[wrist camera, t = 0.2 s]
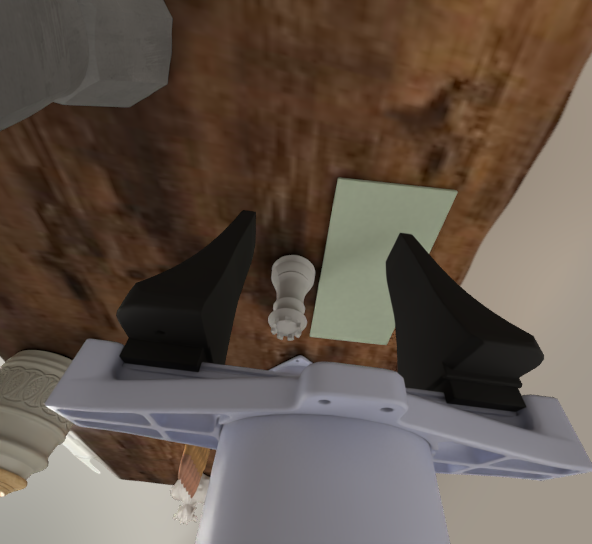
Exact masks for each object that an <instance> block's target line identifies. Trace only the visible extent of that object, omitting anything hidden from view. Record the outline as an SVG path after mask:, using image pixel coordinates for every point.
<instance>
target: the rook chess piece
mask: <svg viewBox="0 0 592 544" xmlns="http://www.w3.org/2000/svg"><path fill="white" fill-rule="evenodd" d="M314 277H315V269H314V266H313V265H312V264H311V262H310V261H309V260H307V259H305V258H303V257H301V256H298V255H288V256H283V257H281V258H280V259H278V260H276V262H275V263H274V265H273V266H272V277H271V280H272V283H273V285H274V287H275V289H276V291H277V301H276V302H275V303H274V305H273V310H274V311H273V312H272V313H271V314H270V315H269V317H268V322H269V324H270V326H271V332H272V334H273V335H274V334H276V333H278V334H277V338H279V339H281V340H282V339H283V336H288V341H289V340H294V335H296V337H297V338H299V336H300V335H301V331H303V329H304V328H305V327H306V324H307V320H306V318H305V316H304V315H303V314H304V312H305V307H304V304H303V301H304V297H305V295H306V293H307V292H308V291H309V290H310V289H311V287H312V286H313V283H314Z"/></svg>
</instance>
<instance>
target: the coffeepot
mask: <svg viewBox="0 0 592 544" xmlns="http://www.w3.org/2000/svg"><path fill="white" fill-rule="evenodd" d="M172 20H173V18H172V16H171V14H170V12H169V11H168V9H167V7H166V5H165V3H164V1H163V0H0V131H1V130H3V129H5V128H7V127H9V126H11V125H13V124H15V123H17V122H19V121H21V120H23V119H25V118H27V117H29V116H31V115H33V114H34V113H36V112H38V111H39V110H41V109H42V108H44V107H45V106H47V105H48V104H50V103H51V102H56V103H59V104H63V105H82V106H108V107H131V106H132V105H134V104H136V103H137V102H139V101H141V100H142V99H144V98H146V97H148V96H149V95H151V94H152V93H153V92H155V91H157V90H158V89H160V88H162V87H163V86H165V85H167V84H168V75H169V67H170V61H171V55H172V35H171V33H172Z"/></svg>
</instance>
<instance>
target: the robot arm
mask: <svg viewBox="0 0 592 544" xmlns="http://www.w3.org/2000/svg"><path fill="white" fill-rule="evenodd" d="M255 237H256V212H252V211H245V210H243V211H242V212H241V213H240V214H239V215H238V216H237V217H236V219H235V220H234V221H233V222H232V223H231V224H230V225H229V226H228V227H227V228H226V229H225V230H224V231H223V232H222V233H221V234H220V235H219V236H218V237H217V238H216V239H214V240H213V241H212V242H211V243H210V244H209V245H207V246H206V247H205V248H204V249H202V250H201V251H199V252H198V253H197V254H195V255H194V256H192V257H191V258H189V259H187V260H186V261H184V262H182V263H181V264H179V265H177V266H175V267H173V268H171V269H169V270H167V271H165V272H163V273H161V274H158V275H156V276H153V277H151V278H148V279H146V280H143V281H140V282H138V283H136V284H135V285H134V286H133V288H132V289H131V290H130V291H129V293H128V294H127V296H126V297H125V299H124V301H123V302H122V304H121V306H120V307H119V309H118V310H117V315H116V316H117V319H118V321H119V323H120V324H121V326H122V328H123V329H124V331H125V332H126V334H127V336H128V337H129V339H128V341H127V343H126V344H125V346H124V345H123V344H121V343H118V342H113V341H105V340H98V339H87V340H86V341H85V343H84V344H83V346H82V347H81V349H80V350H79V352H78V353H77V355H76V356H75V358H74V359H73V361H72V362H71V364H70V365H69V367H68V368H67V370H66V371H65V373H64V375H63V376H62V378H61V379H60V381H59V382H58V384H57V385H56V387H55V388H54V390H53V391H52V393H51V394H50V396H49V397H48V399H47V400H46V402H45V406H46V407H48V408H49V409H51V410H53V411H54V412H56V413H58V414H59V415H61V416H62V417H64V418H66V419H67V420H69V421H71V422H72V423H74V424H76V425H77V426H80V427H88V428H96V429H104V430H110V431H117V432H123V433H129V434H135V435H140V436H146V437H151V438H157V439H162V440H167V441H173V442H178V443H183V444H189V445H194V446H199V447H205V448H210V449H215V450H217V451H216V455H215V459H214V464H213V468H212V472H211V476H210V481H209V485H208V489H207V494H206V498H205V502H204V507H203V511H202V515H201V519H200V523H199V528H198V532H197V537H196V541H195V544H450V540H449V535H448V530H447V525H446V521H445V516H444V511H443V506H442V502H441V497H440V492H439V488H438V484H437V479H436V474H435V473H443V474H464V475H481V476H499V477H510V478H522V479H531V480H540V481H542V480H548V479H554V478H559V477H565V476H570V475H576V474H582V473H587V472H592V462H591V461H590V459H589V457H588V455H587V453H586V451H585V449H584V448H583V446H582V444H581V442H580V440H579V438H578V436H577V435H576V433H575V431H574V429H573V427H572V425H571V423H570V421H569V420H568V418H567V416H566V414H565V412H564V410H563V408H562V407H561V405H560V403H559V401H558V399H556V398H554V397H546V396H539V395H522V396H521V394H520V392H519V390H518V388H521V387H522V383H521V381H520V379H519V377H521V376H522V375H524V374H526V373H528V372H530V371H531V370H533V369H535V368H536V367H537V366H539V365H540V364H541V362H542V361H543V360H544V354H543V353H542V351H541V349H540V347H539V345H538V344H537V342H536V340H535V338H534V336H532V335H531V334H529V333H527V332H525V331H524V330H522V329H520V328H518V327H516V326H515V325H513V324H511V323H509V322H508V321H506V320H505V319H503V318H501V317H500V316H498V315H497V314H495V313H494V312H492V311H491V310H489V309H488V308H486V307H485V306H484V305H482V304H481V303H480V302H478V301H477V300H476V299H474V298H473V297H472V296H471V295H469V294H468V293H467V292H466V291H465V290H463V289H462V288H461V287H460V286H459V285H458V284H457V283H456V282H455V281H454V280H452V279H451V278H450V277H449V275H448V274H447V273H446V272H445V271H444V270H443V269H442V268H441V267H440V266H439V265H438V264H437V263H436V262H435V260H434V259H433V258H432V257H431V256H430V255H429V254H428V252H427V251H426V250H425V249H424V248H423V246H422V245H421V244H420V243H419V242H418V240H417V239H416V238H415V237H414V236H413V235H412V234H406V233H399V235H398V237H397V239H396V242H395V244H394V246H393V248H392V250H391V252H390V254H389V256H388V258H387V260H386V279H387V285H388V290H389V295H390V299H391V304H392V309H393V314H394V320H395V328H396V341H397V360H398V373H397V372H395V371H392V370H388V369H382V368H375V367H367V366H359V365H351V364H343V363H335V362H316V363H312V362H310V361H309V360H308V359H306V358H305V357H303V356H301V355H299V356H296V357H294V358H292V359H290V360H288V361H286V362H284V363H282V364H280V365H278V366H276V367H274V368H272V369H270V370H260V369H252V368H244V367H237V366H229V365H225V360H226V355H227V350H228V345H229V340H230V335H231V330H232V326H233V321H234V317H235V312H236V308H237V304H238V300H239V296H240V293H241V290H242V288H243V285H244V282H245V279H246V276H247V273H248V270H249V267H250V264H251V261H252V257H253V253H254V248H255Z"/></svg>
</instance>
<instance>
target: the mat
mask: <svg viewBox="0 0 592 544" xmlns="http://www.w3.org/2000/svg"><path fill="white" fill-rule="evenodd" d="M457 193H458V192H457V191H456V190H451V189H442V188H432V187H423V186H414V185H405V184H395V183H386V182H377V181H367V180H358V179H349V178H340V177H338V180H337V185H336V191H335V196H334V202H333V208H332V213H331V219H330V225H329V230H328V236H327V241H326V247H325V253H324V258H323V264H322V269H321V275H320V281H319V286H318V292H317V297H316V303H315V309H314V314H313V320H312V325H311V331H310V337H317V338H326V339H335V340H344V341H353V342H363V343H372V344H381V345H387V343H388V341H389V339H390V337H391V335H392V332H393V330H394V328H395V320H394V314H393V309H392V304H391V299H390V295H389V290H388V285H387V279H386V260H387V258H388V256H389V254H390V252H391V250H392V248H393V246H394V244H395V242H396V239H397V237H398V235H399V233H406V234H412V235H413V236H414V237H415V238H416V239H417V240H418V242H419V243H420V244H421V245H422V246H423V248H424V249H425V250H426V251H427V252H428V254H429V253H430V251H431V248H432V246H433V244H434V242H435V240H436V238H437V236H438V233H439V231H440V229H441V227H442V225H443V223H444V221H445V218H446V216H447V214H448V212H449V210H450V208H451V205H452V203H453V201H454V199H455V197H456V195H457Z"/></svg>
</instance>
